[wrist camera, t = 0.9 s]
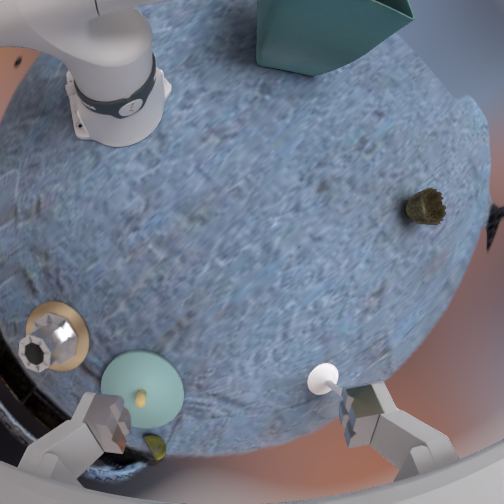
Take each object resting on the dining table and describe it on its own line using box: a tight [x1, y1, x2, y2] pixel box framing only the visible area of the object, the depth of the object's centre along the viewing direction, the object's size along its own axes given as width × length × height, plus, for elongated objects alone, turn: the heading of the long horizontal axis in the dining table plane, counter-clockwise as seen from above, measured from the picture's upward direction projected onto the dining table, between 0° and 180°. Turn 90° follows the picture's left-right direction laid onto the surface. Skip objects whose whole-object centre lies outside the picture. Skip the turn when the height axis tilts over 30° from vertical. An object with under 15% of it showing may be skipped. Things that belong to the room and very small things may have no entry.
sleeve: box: [19, 312, 79, 373], centre depth 40 cm, size 8×8×10 cm
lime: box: [143, 435, 166, 460], centre depth 47 cm, size 4×5×5 cm
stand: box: [26, 301, 90, 371], centre depth 45 cm, size 12×12×1 cm
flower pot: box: [256, 0, 415, 76], centre depth 44 cm, size 20×20×28 cm
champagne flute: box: [308, 363, 399, 410], centre depth 46 cm, size 7×7×24 cm
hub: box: [101, 349, 184, 429], centre depth 46 cm, size 14×14×6 cm
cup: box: [405, 188, 446, 225], centre depth 60 cm, size 8×7×8 cm
